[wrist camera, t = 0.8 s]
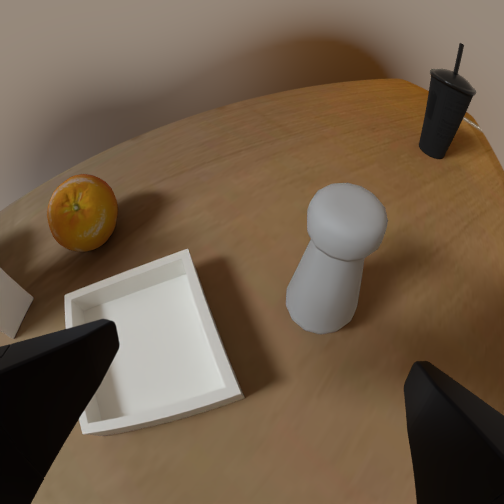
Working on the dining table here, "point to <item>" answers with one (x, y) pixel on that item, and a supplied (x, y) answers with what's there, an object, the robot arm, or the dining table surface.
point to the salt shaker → (335, 256)
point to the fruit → (82, 213)
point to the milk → (12, 304)
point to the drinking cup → (444, 109)
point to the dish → (155, 347)
